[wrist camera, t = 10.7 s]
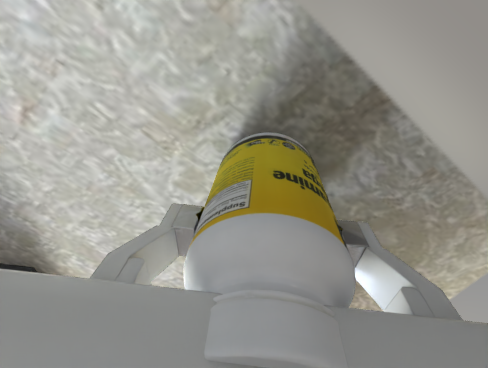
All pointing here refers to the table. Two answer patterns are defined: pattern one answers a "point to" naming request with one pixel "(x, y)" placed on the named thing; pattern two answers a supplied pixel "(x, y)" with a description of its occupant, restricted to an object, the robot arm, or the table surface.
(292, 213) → the pill bottle
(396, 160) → the table surface
